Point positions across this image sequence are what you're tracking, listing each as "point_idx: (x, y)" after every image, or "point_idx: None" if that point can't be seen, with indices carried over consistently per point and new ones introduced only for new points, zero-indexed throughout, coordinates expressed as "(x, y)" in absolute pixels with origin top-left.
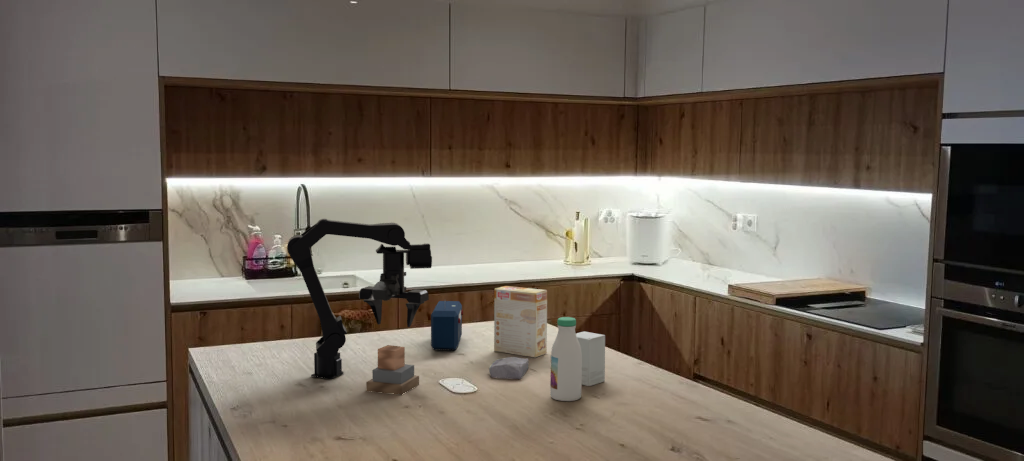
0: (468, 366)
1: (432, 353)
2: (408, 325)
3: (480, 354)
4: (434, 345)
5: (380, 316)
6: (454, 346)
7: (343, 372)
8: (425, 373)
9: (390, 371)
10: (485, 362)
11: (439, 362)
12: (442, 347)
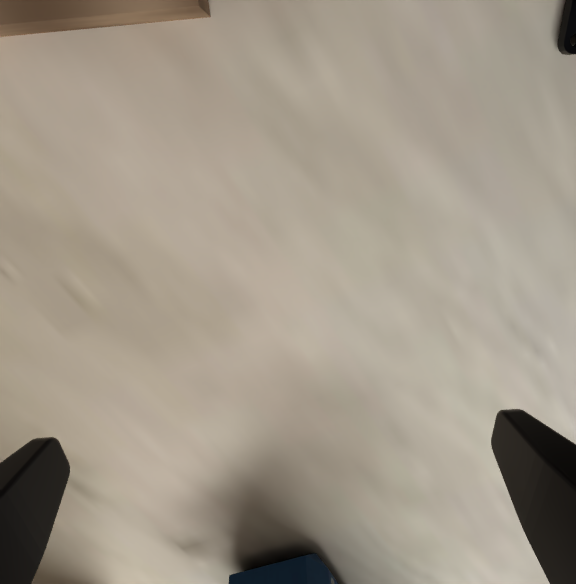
0: None
1: (294, 521)
2: (20, 450)
3: (127, 563)
4: (301, 565)
5: (549, 548)
6: (229, 580)
7: (561, 45)
8: (116, 276)
9: None
10: None
11: (187, 442)
12: (271, 564)
